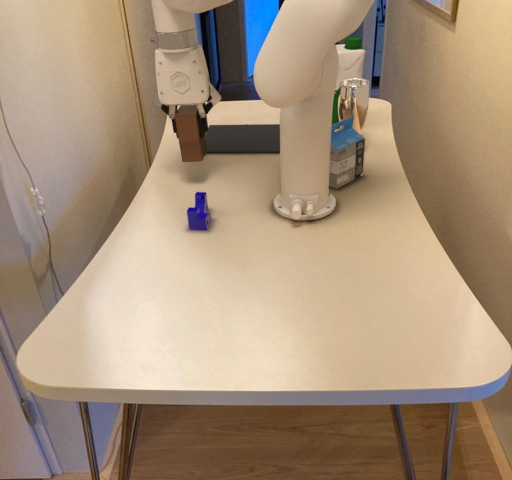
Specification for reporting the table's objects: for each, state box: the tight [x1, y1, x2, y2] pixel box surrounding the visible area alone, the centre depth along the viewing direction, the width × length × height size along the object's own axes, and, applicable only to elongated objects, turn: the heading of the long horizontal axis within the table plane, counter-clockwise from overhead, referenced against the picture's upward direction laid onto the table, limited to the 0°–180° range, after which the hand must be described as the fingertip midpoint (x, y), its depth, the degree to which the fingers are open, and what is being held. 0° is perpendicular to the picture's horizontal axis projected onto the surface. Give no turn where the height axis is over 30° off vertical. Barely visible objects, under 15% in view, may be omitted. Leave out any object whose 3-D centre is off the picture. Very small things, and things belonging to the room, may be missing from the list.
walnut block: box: [175, 104, 207, 163], centre depth 116 cm, size 6×4×10 cm
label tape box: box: [329, 116, 366, 190], centre depth 116 cm, size 9×4×12 cm, turn 132°
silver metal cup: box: [338, 77, 370, 137], centre depth 128 cm, size 7×7×15 cm
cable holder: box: [186, 191, 212, 231], centre depth 108 cm, size 8×4×4 cm, turn 171°
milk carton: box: [332, 35, 366, 129], centre depth 139 cm, size 9×9×20 cm
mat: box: [205, 123, 280, 155], centre depth 140 cm, size 18×22×1 cm
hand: (191, 134), depth 116 cm, fingers closed on walnut block, 4 cm apart
